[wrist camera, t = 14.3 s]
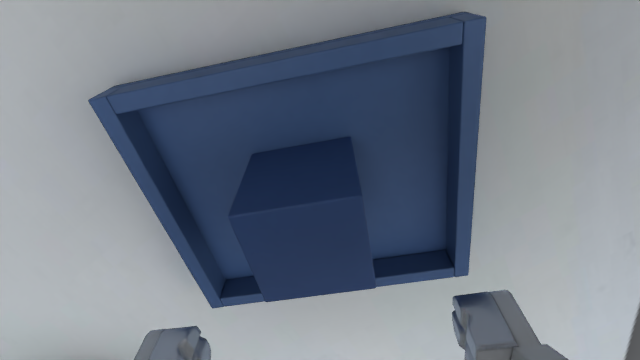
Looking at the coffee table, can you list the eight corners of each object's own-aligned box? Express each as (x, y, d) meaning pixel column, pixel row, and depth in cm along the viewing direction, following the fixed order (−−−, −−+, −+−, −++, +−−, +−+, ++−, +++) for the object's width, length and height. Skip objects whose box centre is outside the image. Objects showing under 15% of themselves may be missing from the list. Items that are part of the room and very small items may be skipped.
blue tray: (465, 11, 13) (487, 16, 11) (456, 250, 20) (468, 275, 18) (113, 85, 15) (87, 100, 13) (220, 282, 22) (211, 308, 20)
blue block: (351, 135, 15) (362, 195, 11) (363, 215, 18) (376, 288, 14) (251, 153, 16) (226, 217, 12) (277, 229, 19) (265, 303, 14)
